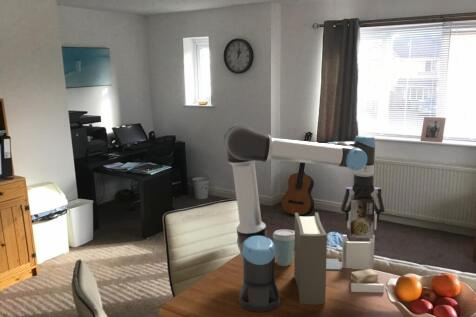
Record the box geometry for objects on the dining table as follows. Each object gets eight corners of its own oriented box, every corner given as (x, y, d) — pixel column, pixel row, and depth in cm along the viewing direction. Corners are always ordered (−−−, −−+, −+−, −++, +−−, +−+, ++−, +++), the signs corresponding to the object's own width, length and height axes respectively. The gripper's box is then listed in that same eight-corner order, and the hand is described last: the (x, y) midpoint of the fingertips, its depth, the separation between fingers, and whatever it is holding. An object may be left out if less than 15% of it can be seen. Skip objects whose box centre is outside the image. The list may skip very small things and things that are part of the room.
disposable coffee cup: (269, 260, 187) (268, 228, 184) (290, 256, 190) (290, 225, 187) (278, 270, 177) (278, 237, 174) (300, 266, 180) (301, 234, 177)
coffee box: (372, 233, 170) (374, 195, 166) (373, 239, 163) (375, 200, 160) (349, 231, 172) (350, 194, 169) (349, 237, 166) (351, 199, 162)
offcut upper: (357, 284, 159) (357, 277, 158) (351, 278, 163) (351, 272, 162) (377, 280, 161) (377, 273, 161) (370, 275, 165) (370, 268, 165)
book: (325, 305, 150) (327, 234, 144) (299, 305, 150) (300, 234, 144) (316, 276, 171) (318, 212, 165) (294, 276, 171) (294, 212, 165)
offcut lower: (353, 290, 160) (353, 283, 159) (349, 283, 165) (350, 276, 164) (379, 289, 160) (379, 282, 160) (374, 282, 165) (374, 276, 165)
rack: (350, 291, 158) (351, 255, 155) (341, 267, 178) (342, 234, 175) (384, 292, 157) (386, 255, 154) (372, 268, 177) (373, 235, 174)
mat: (317, 269, 176) (317, 268, 176) (315, 259, 186) (315, 258, 186) (341, 270, 176) (341, 269, 175) (338, 260, 185) (338, 258, 185)
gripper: (336, 176, 160) (335, 231, 164) (395, 176, 158) (392, 232, 162) (334, 172, 167) (332, 224, 172) (390, 172, 165) (387, 225, 170)
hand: (361, 228), depth 167 cm, fingers closed on coffee box, 9 cm apart
